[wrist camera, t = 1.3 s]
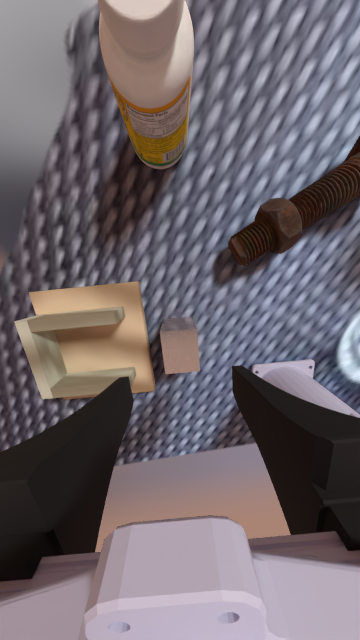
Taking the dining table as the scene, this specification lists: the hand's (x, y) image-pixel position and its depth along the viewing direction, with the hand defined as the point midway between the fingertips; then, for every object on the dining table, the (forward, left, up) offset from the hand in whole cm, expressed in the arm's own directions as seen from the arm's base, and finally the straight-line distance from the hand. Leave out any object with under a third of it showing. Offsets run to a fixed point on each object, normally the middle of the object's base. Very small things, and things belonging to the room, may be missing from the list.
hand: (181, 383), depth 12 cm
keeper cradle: (0, +10, -10) cm, 14 cm away
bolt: (+12, -13, -10) cm, 21 cm away
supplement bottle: (+20, 0, -10) cm, 22 cm away
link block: (0, 0, -10) cm, 10 cm away
